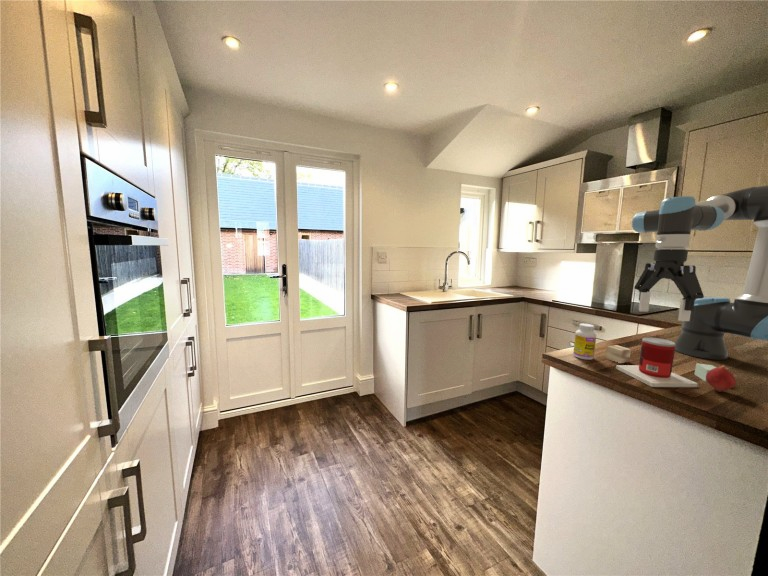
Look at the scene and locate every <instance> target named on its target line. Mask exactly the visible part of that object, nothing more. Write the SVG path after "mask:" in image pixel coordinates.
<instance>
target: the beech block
mask: <svg viewBox="0 0 768 576" xmlns="http://www.w3.org/2000/svg"><path fill="white" fill-rule="evenodd" d="M631 351H632V349H631V348H628V347H625V346H620V345H618V344H615V345H607V346H606V354H605V359H607V360H609V361H612V362H614V361H615V363H617V362H618V363H617V364H624V363H625V362H626V363H630V360H631Z"/></svg>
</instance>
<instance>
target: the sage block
mask: <svg viewBox="0 0 768 576" xmlns="http://www.w3.org/2000/svg"><path fill="white" fill-rule="evenodd" d="M714 368H717V367H716V366H714V365H713V364H707V363H706V364H704V363H696V364H695V369H694V375H695V376H696V377H698V378H699V379H701V380H702V381H704V382H706V383H708V382H707V380H706V374H707V373H708V372H709V371H710V370H712V369H714Z"/></svg>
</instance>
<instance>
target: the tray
mask: <svg viewBox="0 0 768 576" xmlns="http://www.w3.org/2000/svg"><path fill="white" fill-rule="evenodd" d="M615 369H616V370H618V371H620V372H622V373H623V374H626V375H627V376H630V377H632V378H634V379H635V380H638V381H639V382H640V383H643V384H646V385H647V386H649V387H652V388H698V385H699V383H698V382H696V381H693V380H691V379H688V378H686V377H684V376H682V375H679V374H677V373H674V372H671V376H670V377H668V378H660V377H654V376H650V375H647V374H644V373H642V372H641V371H640V370H639V364H635V365H633V364H632V365H629V364H627V365H626V364H625V365H624V364H620V365H619V364H616V366H615Z"/></svg>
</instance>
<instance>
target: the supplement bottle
mask: <svg viewBox="0 0 768 576" xmlns="http://www.w3.org/2000/svg"><path fill="white" fill-rule="evenodd" d="M594 330H595V325H594V324H590V323H579V329H577V330H576V331H575V334H574V335H575V336H574V344H573V354H572V355H573V356H574V357H576V358H578V359H581V360H585V361H587V360H590V361H591V360H593V359H594V358H595V349H596V342H597V334H596V332H594Z"/></svg>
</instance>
